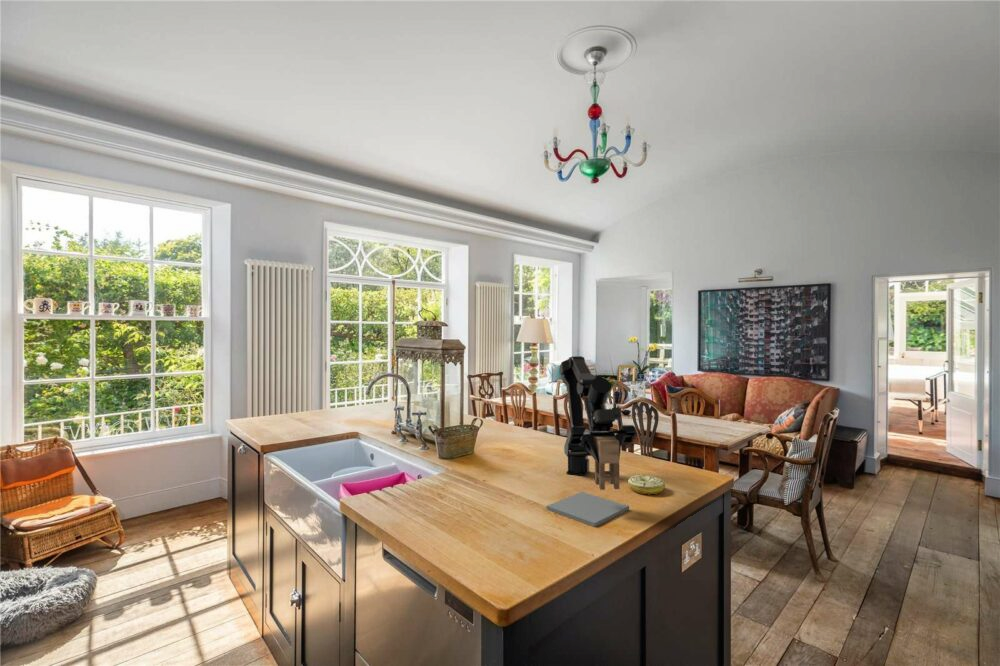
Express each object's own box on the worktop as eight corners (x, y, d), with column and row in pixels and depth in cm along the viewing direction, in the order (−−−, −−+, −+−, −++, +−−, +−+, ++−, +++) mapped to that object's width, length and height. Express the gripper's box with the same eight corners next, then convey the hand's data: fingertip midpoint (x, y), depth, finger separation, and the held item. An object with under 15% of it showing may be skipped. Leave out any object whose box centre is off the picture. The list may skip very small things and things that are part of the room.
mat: (546, 509, 127) (546, 505, 127) (582, 494, 138) (581, 491, 138) (594, 527, 116) (594, 523, 116) (629, 509, 127) (629, 506, 127)
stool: (595, 483, 129) (594, 436, 129) (613, 482, 130) (613, 436, 130) (600, 489, 124) (600, 441, 124) (619, 489, 125) (619, 440, 124)
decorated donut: (648, 483, 149) (648, 471, 149) (672, 493, 139) (671, 481, 139) (621, 487, 146) (621, 475, 146) (643, 498, 136) (643, 485, 136)
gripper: (569, 398, 130) (579, 447, 119) (634, 396, 131) (649, 445, 120) (563, 420, 138) (572, 468, 127) (625, 419, 139) (638, 466, 128)
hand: (608, 461), depth 126 cm, fingers closed on stool, 5 cm apart
